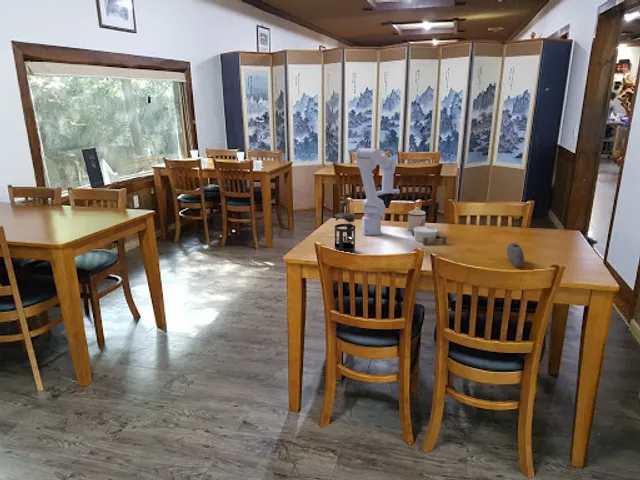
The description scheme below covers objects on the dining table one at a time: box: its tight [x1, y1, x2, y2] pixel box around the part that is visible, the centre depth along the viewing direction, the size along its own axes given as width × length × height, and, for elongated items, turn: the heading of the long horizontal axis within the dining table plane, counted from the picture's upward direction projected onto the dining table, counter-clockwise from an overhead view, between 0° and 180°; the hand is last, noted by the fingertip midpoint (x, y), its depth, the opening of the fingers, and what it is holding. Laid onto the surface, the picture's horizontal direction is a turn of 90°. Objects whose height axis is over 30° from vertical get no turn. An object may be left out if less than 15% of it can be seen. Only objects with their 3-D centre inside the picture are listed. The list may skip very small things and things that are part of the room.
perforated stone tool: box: [506, 242, 525, 268], centre depth 177 cm, size 15×5×7 cm, turn 167°
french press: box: [334, 200, 357, 254], centre depth 190 cm, size 12×9×23 cm
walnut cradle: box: [411, 229, 448, 246], centre depth 211 cm, size 11×17×3 cm, turn 8°
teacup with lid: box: [407, 206, 427, 232], centre depth 228 cm, size 12×9×12 cm
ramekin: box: [413, 226, 439, 243], centre depth 210 cm, size 11×11×5 cm
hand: (386, 207), depth 232 cm, fingers closed
